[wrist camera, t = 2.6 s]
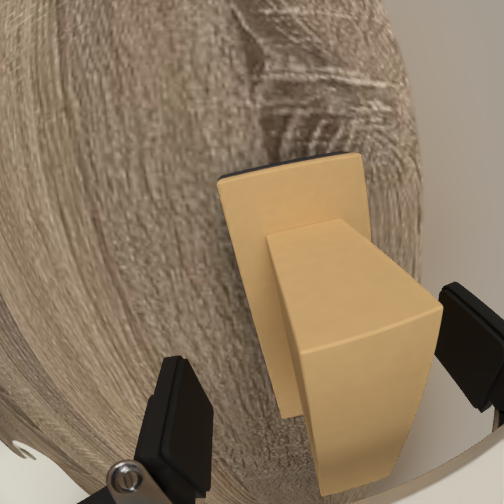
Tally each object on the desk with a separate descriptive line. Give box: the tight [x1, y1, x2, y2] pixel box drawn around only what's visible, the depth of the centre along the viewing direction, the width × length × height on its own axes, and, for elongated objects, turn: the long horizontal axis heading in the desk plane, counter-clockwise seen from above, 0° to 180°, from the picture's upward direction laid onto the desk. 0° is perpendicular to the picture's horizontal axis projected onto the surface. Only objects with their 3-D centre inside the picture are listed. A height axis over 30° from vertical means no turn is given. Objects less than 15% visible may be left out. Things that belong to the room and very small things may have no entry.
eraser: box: [217, 151, 443, 496], centre depth 9 cm, size 5×12×8 cm, turn 13°
